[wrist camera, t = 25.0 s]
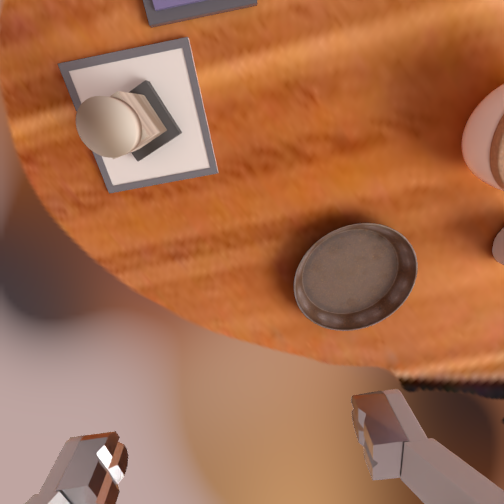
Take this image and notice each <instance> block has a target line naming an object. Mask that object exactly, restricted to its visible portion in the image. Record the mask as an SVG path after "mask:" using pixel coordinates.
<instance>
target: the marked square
mask: <svg viewBox="0 0 504 504" xmlns="http://www.w3.org/2000/svg"><path fill="white" fill-rule="evenodd" d="M58 66H59V69H60V71H61V74H62V76H63V79H64V81H65V84H66V86H67V89H68V91H69V94H70V96H71V99H72V101H73V104H74V106H75V109H76V111H78V108H79V107H80V105H81V104H82V103H83V102H84V101H85V100H86V99H88V98H90V97H94V96H107V97H110V96H111V95H113V94H114V93H115V92H117V91H121V92H130V91H131V90H132V89H134V88H135V87H137V86H138V85H139V84H141V83H142V82H143V81H145V80H147V81H150V83H151V85H152V86H153V88H154V89H155V91H156V92H157V94H158V95H159V97H160V99H161V100H162V102H163V103H164V105H165V106H166V108H167V110H168V111H169V113H170V114H171V116H172V117H173V119H174V120H175V122H176V124H177V125H178V127H179V128H180V130H181V131H182V133H181V134H180V135H178V136H177V137H175V138H174V139H172V140H171V141H169V142H168V143H166V144H165V145H163V146H162V147H160V148H159V149H157V150H156V151H154V152H153V153H151V154H150V155H148V156H146V157H145V158H143V159H142V160H140V161H137V160H136V159H135V157H134V156H133V155H132V153H128V154H126V155H123V156H121V157H118V158H116V159H113V158H108V157H103V156H100V155H98V154H96V153H95V152H93V151H92V152H93V154H94V157H95V159H96V162H97V164H98V167H99V169H100V172H101V174H102V177H103V179H104V182H105V184H106V187H107V189H108V192H109V193H114V192H119V191H125V190H130V189H135V188H141V187H146V186H151V185H157V184H162V183H168V182H173V181H178V180H184V179H189V178H195V177H200V176H205V175H211V174H216V173H218V168H217V164H216V159H215V155H214V150H213V146H212V141H211V137H210V132H209V127H208V123H207V118H206V114H205V109H204V105H203V100H202V96H201V91H200V87H199V82H198V78H197V73H196V69H195V64H194V60H193V55H192V51H191V46H190V42H189V38H188V37H185V38H180V39H175V40H170V41H166V42H161V43H156V44H151V45H146V46H141V47H137V48H132V49H127V50H122V51H117V52H112V53H107V54H103V55H98V56H93V57H88V58H83V59H78V60H74V61H69V62H64V63H59V64H58Z"/></svg>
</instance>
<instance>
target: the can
mask: <svg viewBox="0 0 504 504" xmlns="http://www.w3.org/2000/svg"><path fill="white" fill-rule="evenodd" d="M492 253H493V257H494V258H495V259H496V261H497V262H499V263H501V264H503V265H504V228H502V230H501V231H500V232H499V233H498V234H497V236H496V238H495V239H494V243H493V248H492Z"/></svg>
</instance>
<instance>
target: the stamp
mask: <svg viewBox="0 0 504 504" xmlns="http://www.w3.org/2000/svg"><path fill="white" fill-rule="evenodd" d="M76 127H77V131H78V133H79V136H80V138H81V139H82V141H83V142H84V144H85V145H86V146H87V147H88V148H89V149H90V150H92V151H93V152H95V153H96V154H98V155H100V156H103V157H108V158H113V159H116V158H118V157H121V156H123V155H126V154H128V153H132V155H133V156H134V157H135V159H136V160H137V161H140V160H142V159H143V158H145V157H146V156H148V155H150V154H151V153H153V152H154V151H156V150H157V149H159V148H160V147H162V146H163V145H165V144H166V143H168V142H169V141H171V140H172V139H174V138H175V137H177V136H178V135H180V134H181V133H182V131H181V130H180V128H179V127H178V125H177V124H176V122H175V120H174V119H173V117H172V116H171V114H170V113H169V111H168V110H167V108H166V106H165V105H164V103H163V102H162V100H161V99H160V97H159V95H158V94H157V92H156V91H155V89H154V88H153V86H152V85H151V83H150V81H147V80H145V81H143V82H142V83H141V84H139V85H138V86H137V87H135V88H134V89H132V90H131V91H130V92H121V91H117V92H115V93H114V94H113V95H111V96H110V97H107V96H94V97H90V98H88V99H86V100H85V101H84V102H83V103H82V104H81V105H80V107H79V108H78V111H77V114H76Z"/></svg>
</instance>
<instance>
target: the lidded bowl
mask: <svg viewBox="0 0 504 504" xmlns="http://www.w3.org/2000/svg"><path fill="white" fill-rule="evenodd" d="M462 153H463V158H464V160H465V163H466V165H467V166H468V167H469V169H470V170H471V172H472V173H473V174H474V175H475V176H476V177H478V178H479V179H480V180H482V181H483V182H485V183H487V184H489V185H491V186H493V187H494V188H497V189H500V190H503V191H504V84H502V85H500V86H499V87H497V88H496V89H495V90H493V91H492V92H491V93H490V94H488V95H487V96H486V97H485V98H484V99H483V100H482V101H481V102H480V103H479V105H478V106H477V107H476V108H475V110H474V111H473V112H472V114H471V115H470V117H469V119H468V121H467V123H466V126H465V128H464V132H463V135H462Z"/></svg>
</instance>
